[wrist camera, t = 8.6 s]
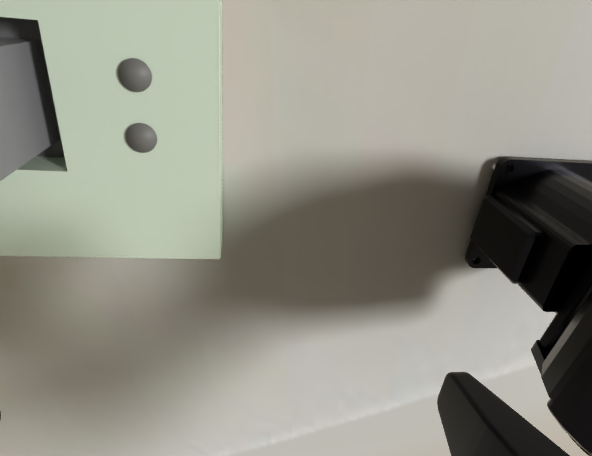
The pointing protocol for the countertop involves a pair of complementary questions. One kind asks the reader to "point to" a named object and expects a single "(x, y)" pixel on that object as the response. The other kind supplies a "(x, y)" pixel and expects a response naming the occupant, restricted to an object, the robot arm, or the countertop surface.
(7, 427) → the countertop surface
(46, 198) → the outlet plate
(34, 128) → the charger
